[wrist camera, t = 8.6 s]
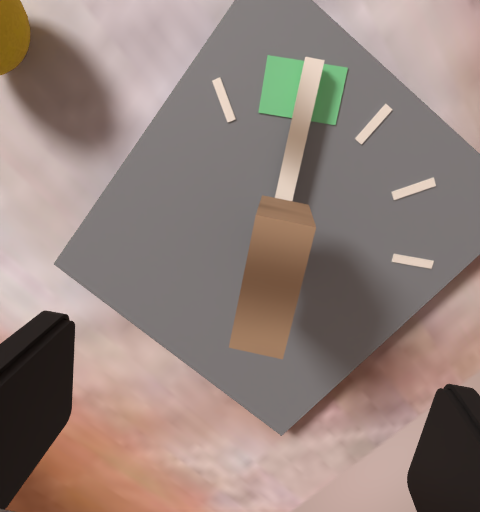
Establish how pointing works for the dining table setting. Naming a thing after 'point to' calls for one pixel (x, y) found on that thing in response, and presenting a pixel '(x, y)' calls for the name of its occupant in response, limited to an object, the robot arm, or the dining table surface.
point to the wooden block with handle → (279, 242)
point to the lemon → (13, 34)
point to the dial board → (265, 183)
